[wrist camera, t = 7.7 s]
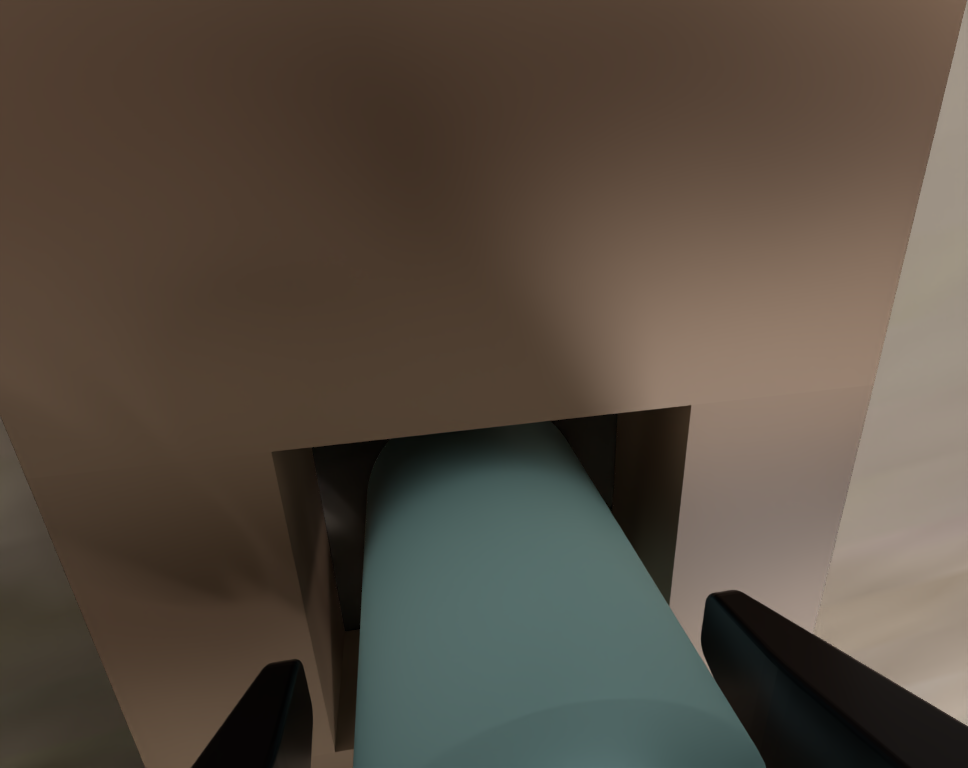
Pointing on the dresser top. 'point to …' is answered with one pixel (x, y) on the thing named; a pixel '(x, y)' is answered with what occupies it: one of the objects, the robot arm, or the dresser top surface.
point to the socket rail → (437, 290)
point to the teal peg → (520, 620)
